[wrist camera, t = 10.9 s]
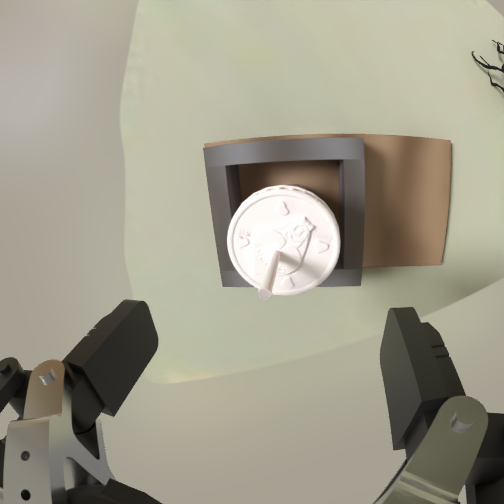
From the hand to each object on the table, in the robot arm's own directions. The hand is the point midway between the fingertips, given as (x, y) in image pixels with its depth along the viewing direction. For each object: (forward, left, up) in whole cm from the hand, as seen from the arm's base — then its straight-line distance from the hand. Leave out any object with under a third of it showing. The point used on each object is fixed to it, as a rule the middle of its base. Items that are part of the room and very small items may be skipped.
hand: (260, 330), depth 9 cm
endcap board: (-4, 0, -18) cm, 18 cm away
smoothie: (0, 0, -17) cm, 17 cm away
